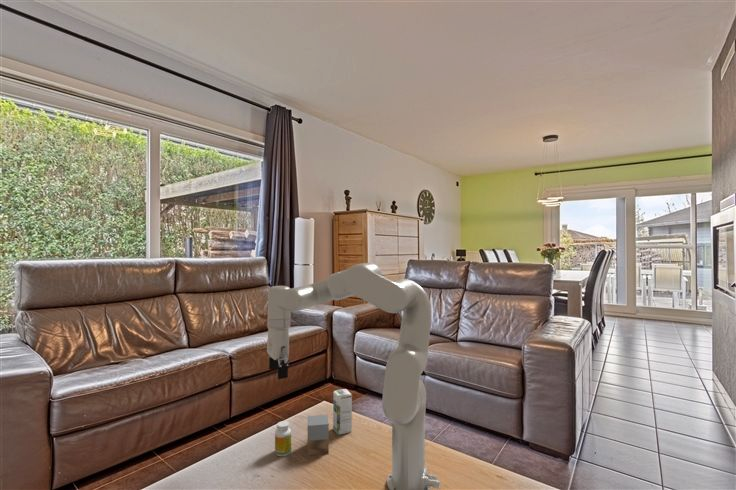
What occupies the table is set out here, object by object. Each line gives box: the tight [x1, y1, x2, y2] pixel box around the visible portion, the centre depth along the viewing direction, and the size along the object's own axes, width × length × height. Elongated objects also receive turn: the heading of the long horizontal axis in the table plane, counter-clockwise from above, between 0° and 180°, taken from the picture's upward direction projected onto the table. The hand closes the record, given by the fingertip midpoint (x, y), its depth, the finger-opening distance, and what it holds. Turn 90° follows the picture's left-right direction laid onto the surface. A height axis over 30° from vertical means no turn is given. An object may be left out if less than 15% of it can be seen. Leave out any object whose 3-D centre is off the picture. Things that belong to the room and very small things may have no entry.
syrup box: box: [332, 388, 353, 436], centre depth 138 cm, size 6×6×14 cm
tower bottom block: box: [307, 438, 330, 456], centre depth 126 cm, size 7×7×5 cm
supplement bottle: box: [274, 420, 292, 457], centre depth 124 cm, size 5×5×10 cm
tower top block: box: [307, 414, 330, 442], centre depth 126 cm, size 7×7×5 cm
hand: (278, 373), depth 123 cm, fingers open, 9 cm apart
